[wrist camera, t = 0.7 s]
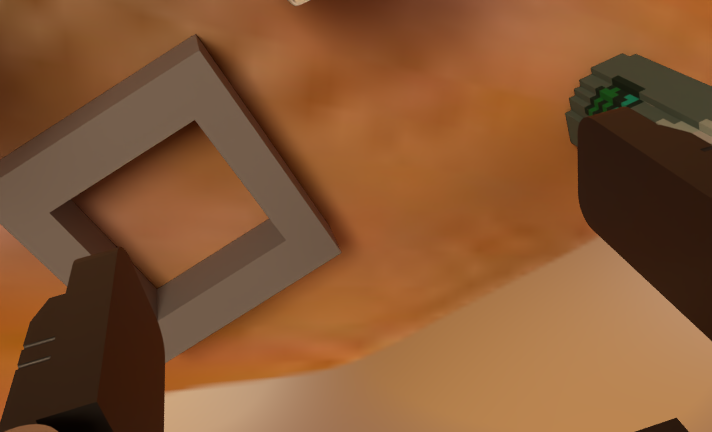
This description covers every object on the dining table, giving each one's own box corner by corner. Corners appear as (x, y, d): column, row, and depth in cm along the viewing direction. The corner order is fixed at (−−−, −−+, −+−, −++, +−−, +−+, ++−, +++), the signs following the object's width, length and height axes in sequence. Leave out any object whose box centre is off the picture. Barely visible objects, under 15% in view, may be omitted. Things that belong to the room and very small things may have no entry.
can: (559, 82, 38) (762, 200, 25) (653, 38, 38) (901, 134, 26) (576, 169, 41) (763, 312, 29) (663, 128, 42) (887, 252, 29)
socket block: (195, 33, 32) (199, 50, 29) (329, 226, 39) (341, 252, 36) (-15, 169, 32) (-29, 196, 30) (155, 335, 39) (155, 369, 37)
